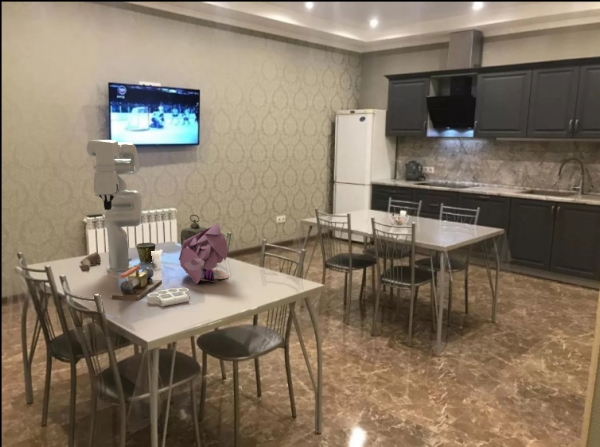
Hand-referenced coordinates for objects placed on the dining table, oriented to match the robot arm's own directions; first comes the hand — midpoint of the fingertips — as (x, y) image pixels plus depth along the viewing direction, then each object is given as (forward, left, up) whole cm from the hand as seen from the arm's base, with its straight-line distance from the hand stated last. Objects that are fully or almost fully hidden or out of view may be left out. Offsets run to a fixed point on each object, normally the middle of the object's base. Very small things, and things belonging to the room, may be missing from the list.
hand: (108, 209), depth 223 cm
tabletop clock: (-51, +22, -35) cm, 66 cm away
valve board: (+7, +16, -35) cm, 39 cm away
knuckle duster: (+16, +35, -36) cm, 52 cm away
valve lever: (+13, +16, -25) cm, 33 cm away
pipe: (-26, -26, -36) cm, 51 cm away
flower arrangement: (-19, +40, -35) cm, 57 cm away
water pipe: (+7, +16, -34) cm, 38 cm away
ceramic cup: (-37, 0, -35) cm, 51 cm away
